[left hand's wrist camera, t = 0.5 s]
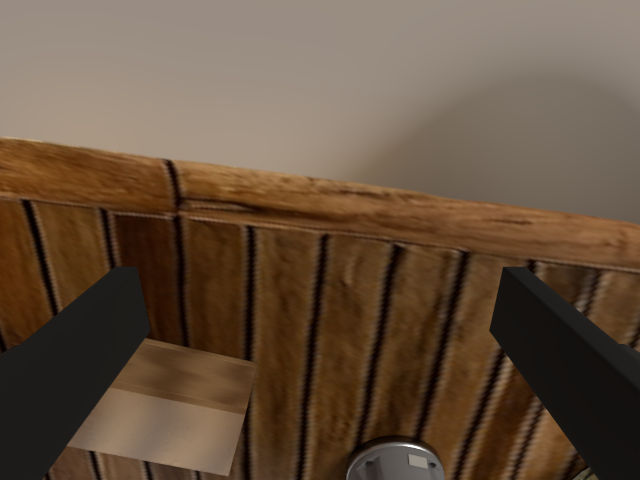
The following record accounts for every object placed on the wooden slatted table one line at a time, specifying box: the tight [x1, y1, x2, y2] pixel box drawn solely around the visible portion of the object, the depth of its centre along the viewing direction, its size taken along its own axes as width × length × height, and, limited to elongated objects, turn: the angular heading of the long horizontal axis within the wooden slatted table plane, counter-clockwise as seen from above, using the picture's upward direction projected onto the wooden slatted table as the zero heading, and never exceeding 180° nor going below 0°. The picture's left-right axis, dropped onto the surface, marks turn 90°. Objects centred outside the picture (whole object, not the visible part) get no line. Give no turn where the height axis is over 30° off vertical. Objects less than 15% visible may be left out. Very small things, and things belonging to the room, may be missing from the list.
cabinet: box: [67, 338, 257, 476], centre depth 45 cm, size 20×11×9 cm, turn 74°
